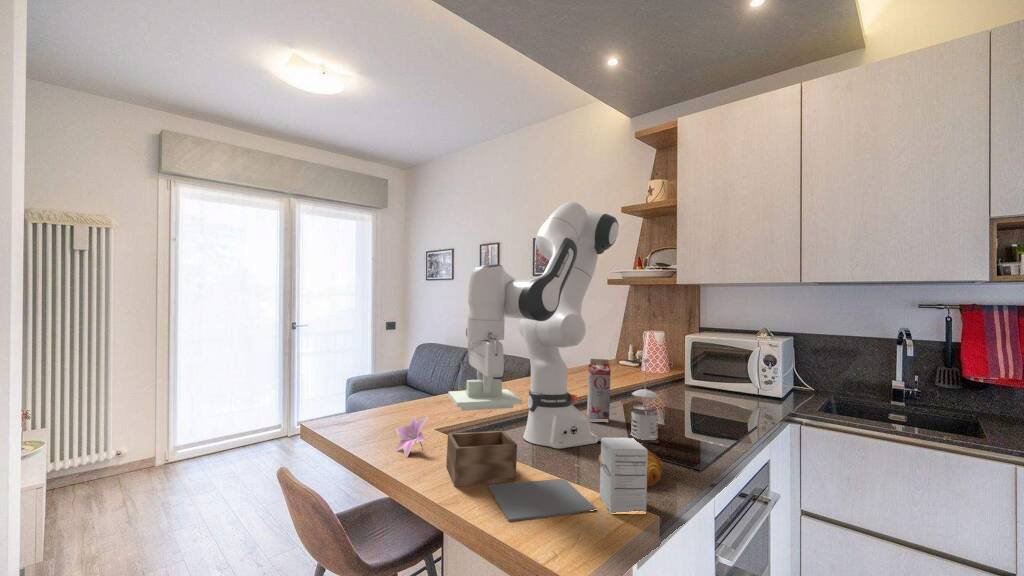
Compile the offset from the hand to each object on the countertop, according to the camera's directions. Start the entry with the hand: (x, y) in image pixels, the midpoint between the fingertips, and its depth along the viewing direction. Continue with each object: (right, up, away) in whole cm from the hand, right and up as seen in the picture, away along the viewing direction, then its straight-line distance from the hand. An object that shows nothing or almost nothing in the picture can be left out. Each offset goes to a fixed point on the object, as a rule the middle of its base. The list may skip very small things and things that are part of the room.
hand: (484, 390), depth 98 cm
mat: (+12, -19, -13) cm, 26 cm away
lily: (-20, -20, +13) cm, 31 cm away
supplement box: (+29, -20, -15) cm, 38 cm away
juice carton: (+38, -24, +52) cm, 68 cm away
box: (-1, -19, -1) cm, 19 cm away
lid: (0, -3, 0) cm, 3 cm away
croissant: (+36, -21, +2) cm, 41 cm away
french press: (+48, -23, +32) cm, 62 cm away
